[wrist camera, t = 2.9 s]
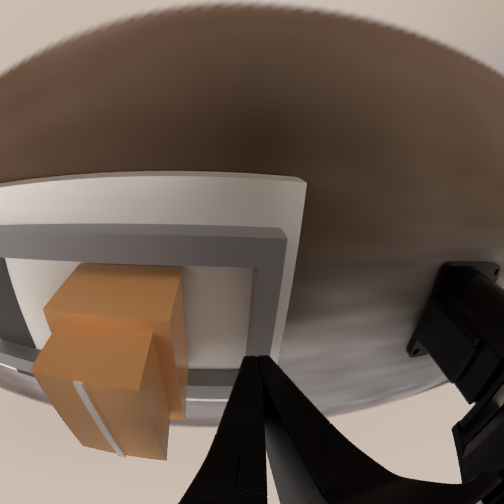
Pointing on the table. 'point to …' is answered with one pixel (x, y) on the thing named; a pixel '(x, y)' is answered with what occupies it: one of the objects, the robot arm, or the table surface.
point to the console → (157, 257)
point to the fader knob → (117, 356)
